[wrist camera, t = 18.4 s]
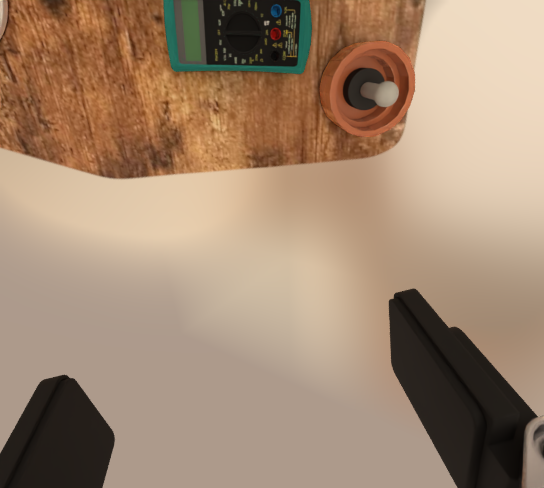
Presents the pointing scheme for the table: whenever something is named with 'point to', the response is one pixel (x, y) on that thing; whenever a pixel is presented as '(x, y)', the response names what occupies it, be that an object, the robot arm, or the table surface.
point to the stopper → (369, 89)
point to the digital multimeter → (238, 35)
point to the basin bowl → (393, 69)
